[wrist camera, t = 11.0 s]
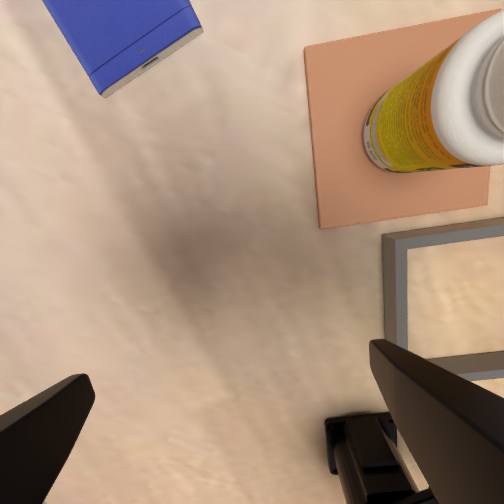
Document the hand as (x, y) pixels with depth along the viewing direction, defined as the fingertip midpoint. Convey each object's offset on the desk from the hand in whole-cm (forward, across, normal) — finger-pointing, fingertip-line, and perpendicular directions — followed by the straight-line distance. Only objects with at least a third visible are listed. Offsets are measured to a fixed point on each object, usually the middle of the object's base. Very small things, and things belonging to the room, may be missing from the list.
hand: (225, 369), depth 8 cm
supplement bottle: (+13, -12, -7) cm, 19 cm away
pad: (+13, -12, -8) cm, 19 cm away
